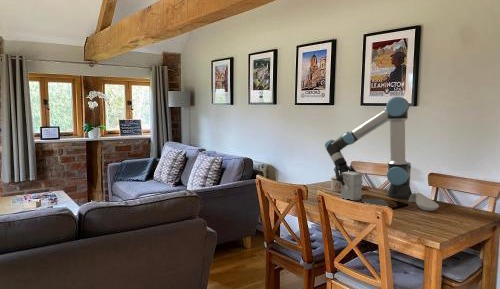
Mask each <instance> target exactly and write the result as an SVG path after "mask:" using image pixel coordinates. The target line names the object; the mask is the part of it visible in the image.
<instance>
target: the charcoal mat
mask: <svg viewBox="0 0 500 289" xmlns="http://www.w3.org/2000/svg"><path fill="white" fill-rule="evenodd" d="M360 201H361V202H362V201H363V202H366V203H370V204H377V205H384V206H389V207H390V204H388V203H387V202H386V201H385V200H383V199H378V198H377V199H376V198H375V199H374V198H361V199H360ZM363 202H362V203H363Z"/></svg>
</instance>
